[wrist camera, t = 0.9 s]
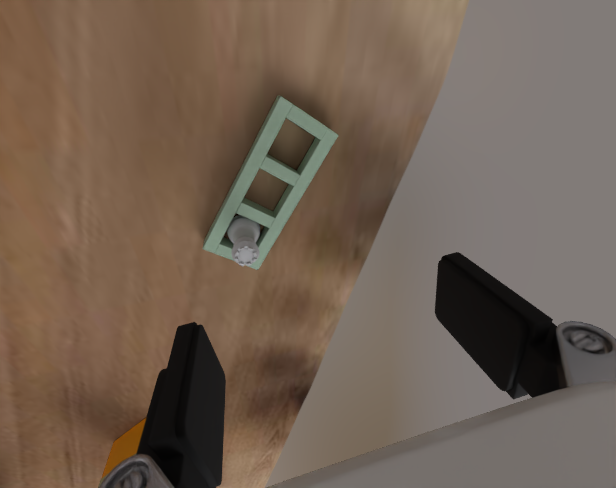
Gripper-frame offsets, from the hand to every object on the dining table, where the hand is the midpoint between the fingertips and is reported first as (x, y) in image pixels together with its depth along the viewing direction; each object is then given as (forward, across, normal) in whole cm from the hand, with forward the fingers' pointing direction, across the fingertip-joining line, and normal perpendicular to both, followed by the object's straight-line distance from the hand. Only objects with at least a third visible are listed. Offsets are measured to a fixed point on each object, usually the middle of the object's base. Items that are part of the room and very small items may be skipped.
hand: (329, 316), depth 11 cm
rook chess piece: (+30, +5, +8) cm, 31 cm away
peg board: (+30, +1, +3) cm, 30 cm away
